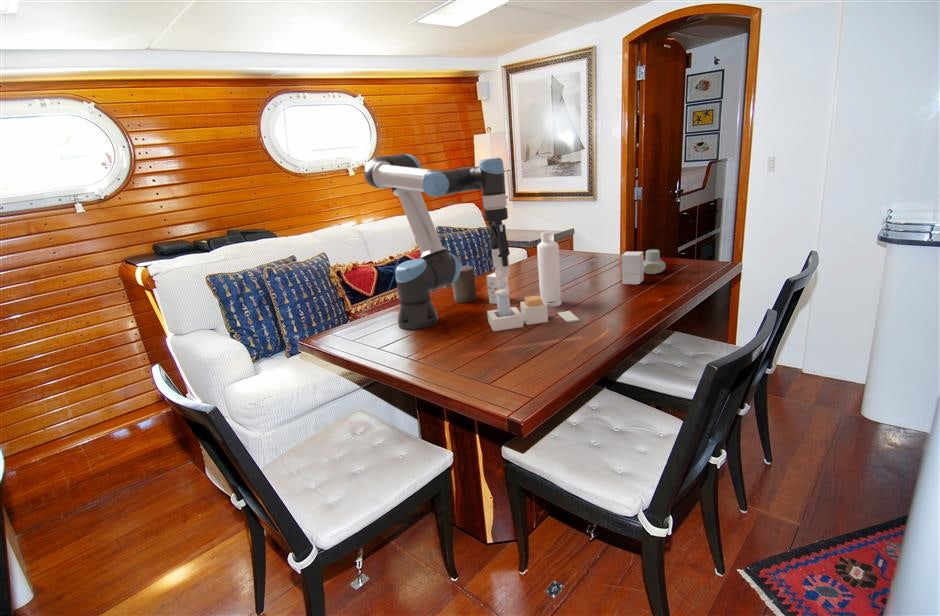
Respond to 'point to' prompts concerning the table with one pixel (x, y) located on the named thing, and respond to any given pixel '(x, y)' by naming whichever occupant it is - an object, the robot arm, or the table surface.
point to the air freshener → (653, 262)
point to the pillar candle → (465, 285)
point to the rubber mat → (568, 316)
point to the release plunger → (533, 301)
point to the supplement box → (632, 267)
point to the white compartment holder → (518, 317)
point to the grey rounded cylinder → (503, 302)
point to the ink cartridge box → (496, 284)
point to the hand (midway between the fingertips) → (501, 271)
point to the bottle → (549, 269)
